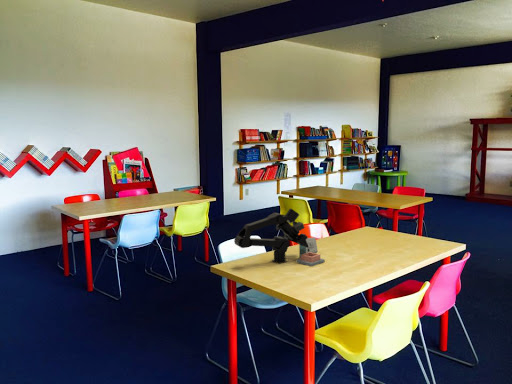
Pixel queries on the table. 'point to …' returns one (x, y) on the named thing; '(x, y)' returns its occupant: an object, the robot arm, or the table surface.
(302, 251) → the peg
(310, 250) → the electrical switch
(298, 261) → the socket plate
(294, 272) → the table surface
